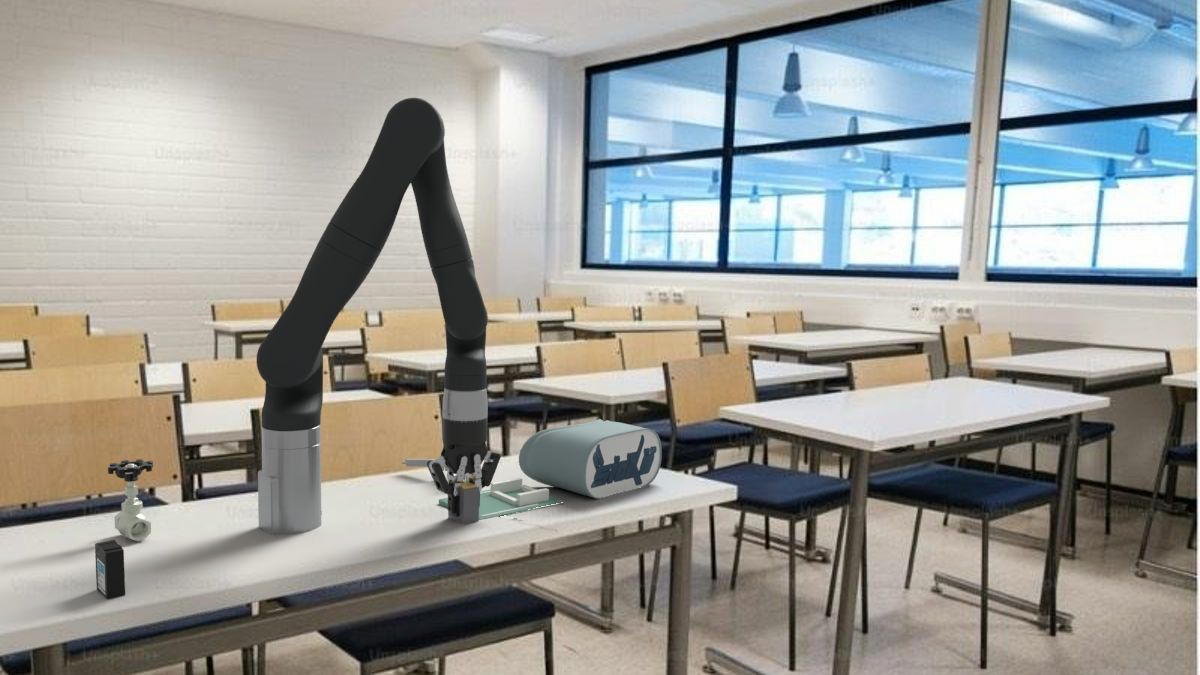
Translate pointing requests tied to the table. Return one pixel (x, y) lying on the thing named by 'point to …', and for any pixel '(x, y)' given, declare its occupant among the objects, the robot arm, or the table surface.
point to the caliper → (423, 464)
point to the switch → (467, 504)
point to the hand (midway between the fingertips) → (463, 513)
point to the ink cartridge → (110, 569)
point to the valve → (131, 500)
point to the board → (510, 499)
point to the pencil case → (593, 457)
